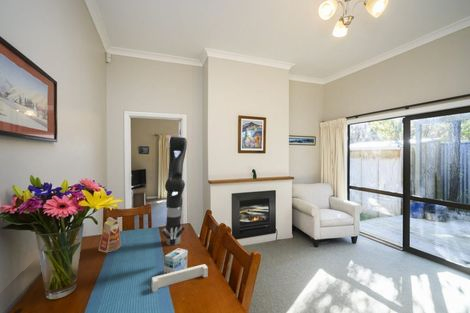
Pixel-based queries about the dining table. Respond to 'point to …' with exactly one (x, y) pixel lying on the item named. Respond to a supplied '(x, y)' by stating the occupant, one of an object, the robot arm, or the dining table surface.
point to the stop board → (178, 276)
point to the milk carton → (110, 236)
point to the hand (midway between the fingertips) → (172, 245)
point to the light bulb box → (175, 261)
